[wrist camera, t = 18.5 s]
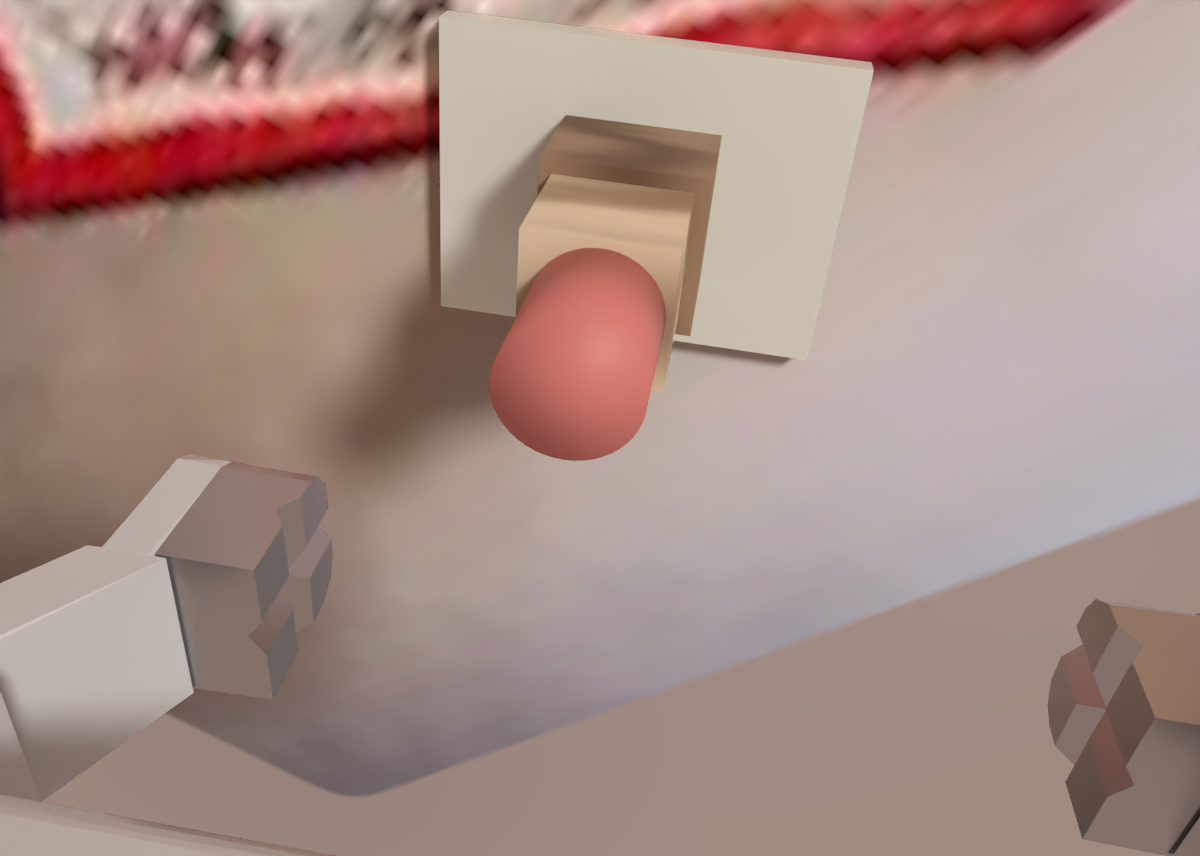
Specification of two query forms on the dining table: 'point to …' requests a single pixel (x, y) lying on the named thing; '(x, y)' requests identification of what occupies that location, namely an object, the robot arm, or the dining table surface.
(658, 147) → the walnut base
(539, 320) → the red capsule
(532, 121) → the board
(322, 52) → the dining table surface
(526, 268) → the beech cube
